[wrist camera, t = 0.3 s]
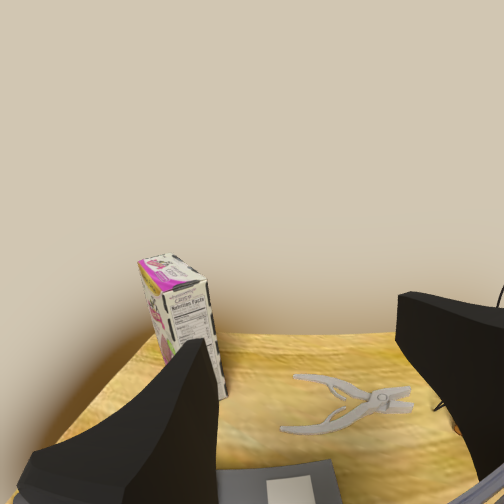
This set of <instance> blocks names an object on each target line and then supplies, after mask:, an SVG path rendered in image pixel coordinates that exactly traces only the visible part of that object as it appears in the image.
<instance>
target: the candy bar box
mask: <svg viewBox="0 0 504 504" xmlns="http://www.w3.org/2000/svg"><path fill="white" fill-rule="evenodd" d="M137 263H138V267H139V271H140V276H141V280H142V284H143V288H144V292H145V296H146V300H147V304H148V307H149V312H150V315H151V318H152V322H153V326H154V329H155V333H156V336H157V339H158V343H159V346H160V349H161V352H162V356H163V359H164V362H165V365H167V363H168V362H169V361H170V360H171V359H172V358H173V356H174V355H175V354H176V353H177V351H178V350H179V349H180V348H181V346H182V345H183V344H184V343H185V342H186V341H187V340H191V339H198V338H204V339H205V342H206V346H207V349H208V353H209V356H210V359H211V363H212V366H213V369H214V373H215V376H216V379H217V382H218V396H219V401H220V400H222V399H224V398H227V397H228V393H227V388H226V383H225V378H224V373H223V368H222V363H221V358H220V352H219V348H218V341H217V336H216V331H215V325H214V319H213V314H212V308H211V303H210V296H209V289H208V283H207V278H205V277H204V276H203V275H201V274H200V273H198V272H197V271H196V270H194V269H193V268H192V267H190V266H189V265H187V264H186V263H185V262H183V261H182V260H181V259H179V258H178V257H177V256H175V255H174V254H173V253H167V254H163V255H160V256H155V257H151V258H146V259H143V260H141V261H138V262H137Z"/></svg>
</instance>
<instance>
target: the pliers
mask: <svg viewBox="0 0 504 504" xmlns="http://www.w3.org/2000/svg"><path fill="white" fill-rule="evenodd" d="M293 379H299V380H306V381H312V382H317V383H321V384H325V385H327V386H328V388H329V389H330V391H331V393H332V394H333V395H334V396H336V397H337V398H339V399H341V400H343V401H346V398H345V397H343V396H341V395H339V394H338V393H337V392H336V391H335V390H334V389H333V387H335V388H337V389H339V390H341V391H343V392H344V393H346V394H347V395H349V396H350V397H352V398H355V399H361V400H366V401H367V402H366V403H362V404H360V405H359V406H357V407H356V408H355V409H353V410H352V411H350V412H349V413H347V414H345V415H344V416H342V417H340V418H339V419H337V420H334V421H331V422H330V420H331V418H332V417H333V416H334V415H335V414H337V413H339V412H340V411H343V410H345V409H346V406H343V407H341V408H339V409H337V410H335V411H333V412H332V413H331V414H330V415H329V416H328V417H327V418H326V420H325V421H324V422H323V423H321V424H317V425H310V426H280V431H282V432H286V433H291V434H297V435H318V434H325V433H330V432H334V431H338V430H341V429H343V428H346V427H348V426H350V425H351V424H353V423H354V422H356V421H357V420H358V419H360V418H362V417H365V416H367V415H370V414H372V413H373V412H378V413H384V414H394V413H411V411H412V409H413V406H414V403H409V402H402V401H395V400H397V399H401V398H404V397H408V396H409V394H410V392H411V388H410V386H405V387H395V388H384V389H380V390H375V391H373V392H372V393H367V392H364V391H362V390H360V389H358V388H356V387H355V386H353V385H352V384H350V383H348V382H346V381H343V380H340V379H337V378H333V377H328V376H323V375H315V374H294V375H293ZM387 402H388V403H387Z"/></svg>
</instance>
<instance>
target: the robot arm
mask: <svg viewBox="0 0 504 504" xmlns="http://www.w3.org/2000/svg"><path fill="white" fill-rule="evenodd" d="M395 341H396V343H397V344H398V346H399V348H400V349H401V351H402V352H403V354H404V355H405V357H406V359H407V360H408V361H409V362H410V363H411V365H412V366H413V367H414V368H415V369H416V370H417V372H418V373H419V374H420V375H421V376H422V377H423V378H424V380H425V381H426V382H427V383H428V384H429V385H430V386H431V388H432V389H433V390H434V391H435V392H436V393H437V395H438V396H439V397H440V399H441V400H442V401H443V403H444V404H445V406H446V408H447V409H448V411H449V412H450V414H451V416H452V417H453V419H454V421H455V423H456V425H457V427H458V428H459V430H460V432H461V434H462V436H463V438H464V441H465V443H466V445H467V447H468V450H469V452H470V454H471V457H472V460H473V463H474V466H475V469H476V472H477V476H478V480H479V483H478V484H476V485H475V486H474V487H472V488H471V489H469V490H468V491H466V492H465V493H463V494H462V495H460V496H459V497H457V498H456V499H454V500H453V501H451V502H449V503H448V504H484V503H485V502H487V501H488V500H489V499H490V498H492V497H493V496H494V495H495V494H497V493H498V492H499V491H500V490H501V489H503V488H504V308H497V307H487V306H481V305H475V304H470V303H465V302H461V301H456V300H452V299H447V298H443V297H439V296H435V295H431V294H426V293H420V292H412V291H410V292H407V293H404V294H400V295H398V308H397V325H396V336H395ZM218 415H219V396H218V382H217V379H216V376H215V373H214V369H213V366H212V363H211V359H210V356H209V353H208V349H207V346H206V342H205V339H204V338H198V339H191V340H187V341H186V342H185V343H184V344H183V345H182V346H181V348H180V349H179V350H178V351H177V353H176V354H175V355H174V356H173V358H172V359H171V360H170V361H169V362H168V363H167V365H166V366H165V367H164V368H163V369H162V370H161V372H160V373H159V374H158V375H157V376H156V377H155V378H154V379H153V380H152V381H151V382H150V383H149V384H148V385H147V386H146V387H145V388H144V389H143V390H142V391H141V392H140V393H139V394H138V395H137V396H136V397H134V398H133V399H132V400H131V401H130V402H128V403H127V404H126V405H125V406H123V407H122V408H121V409H120V410H118V411H117V412H115V413H114V414H112V415H111V416H109V417H108V418H106V419H105V420H103V421H102V422H100V423H99V424H97V425H96V426H94V427H92V428H90V429H88V430H87V431H85V432H83V433H81V434H79V435H77V436H75V437H72V438H70V439H68V440H66V441H63V442H61V443H58V444H55V445H53V446H50V447H47V448H44V449H41V450H38V451H34V452H33V453H32V455H31V457H30V459H29V461H28V463H27V465H26V467H25V469H24V471H23V473H22V475H21V477H20V479H19V481H18V483H17V488H18V490H19V492H20V494H21V495H22V497H23V498H24V499H25V500H26V501H27V502H28V503H30V504H219V501H218V491H217V478H216V445H217V430H218ZM494 504H504V495H503V496H502V497H501V498H500V499H499V500H498V501H497V502H495V503H494Z"/></svg>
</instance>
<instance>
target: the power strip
mask: <svg viewBox="0 0 504 504" xmlns="http://www.w3.org/2000/svg"><path fill="white" fill-rule="evenodd" d="M216 478H217V491H218V501H219V504H343V503H342V499H341V495H340V491H339V488H338V484H337V480H336V476H335V472H334V469H333V465H332V461H331V459H328V460H322V461H317V462H311V463H304V464H297V465H289V466H281V467H271V468H258V469H238V470H216Z"/></svg>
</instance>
